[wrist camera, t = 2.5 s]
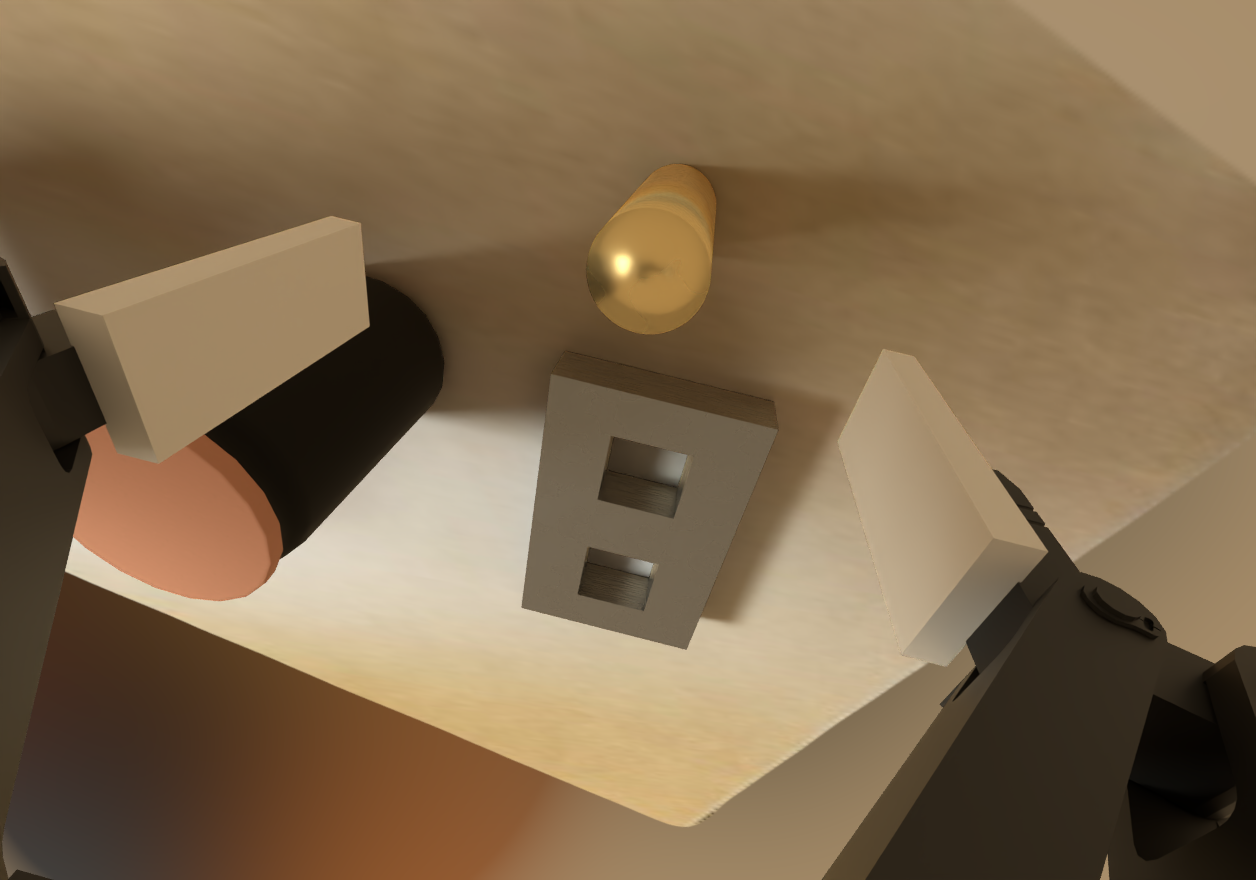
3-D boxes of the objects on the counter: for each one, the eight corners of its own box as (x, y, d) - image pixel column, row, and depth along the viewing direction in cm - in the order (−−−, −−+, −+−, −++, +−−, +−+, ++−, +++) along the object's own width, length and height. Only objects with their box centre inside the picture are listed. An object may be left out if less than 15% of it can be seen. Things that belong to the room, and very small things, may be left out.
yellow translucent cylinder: (629, 239, 31) (578, 318, 20) (645, 155, 29) (597, 194, 18) (704, 257, 31) (692, 346, 20) (726, 174, 29) (726, 225, 18)
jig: (533, 576, 48) (521, 607, 45) (565, 350, 36) (550, 373, 33) (688, 615, 47) (686, 649, 45) (774, 401, 35) (778, 429, 32)
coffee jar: (273, 280, 36) (-49, 416, 21) (414, 253, 34) (164, 385, 19) (347, 419, 41) (133, 605, 26) (473, 404, 39) (316, 600, 24)
